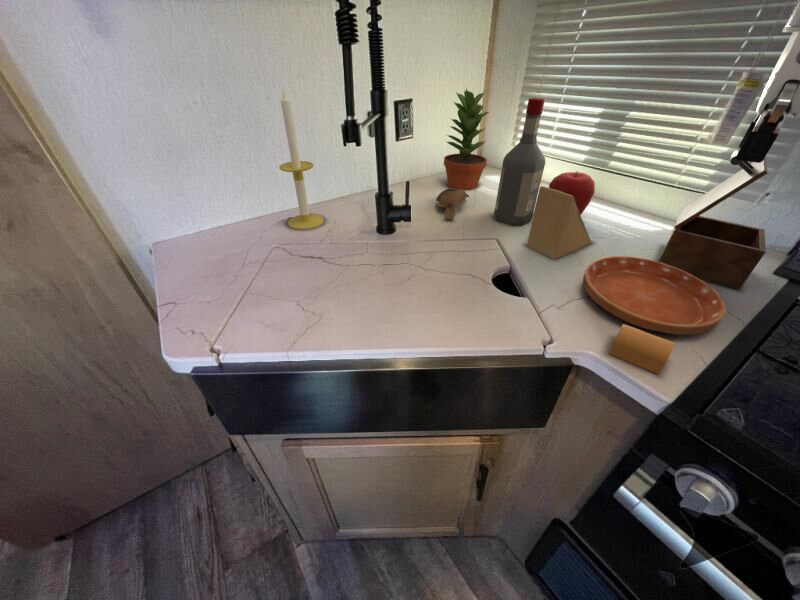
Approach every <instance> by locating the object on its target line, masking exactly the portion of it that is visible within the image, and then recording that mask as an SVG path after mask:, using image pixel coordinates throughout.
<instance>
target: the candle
mask: <svg viewBox="0 0 800 600" xmlns="http://www.w3.org/2000/svg"><path fill="white" fill-rule="evenodd" d="M280 103H281V104H280V105H281V111H282V116H283V117H282V118H283V121H284V122H283V123H284V129H285V134H286V138H287V139H286V140H287V144H288V150H289V155H290V161H288V162H285V163H282V164H280V165H279V166H278V167H279V170H281V171H282V172H285V173H292V177H293V182H294V188H295V193H296V198H297V204H298V210H299V215H295V216H293V217H291V218H290V219H289V220H288V221H287V226H288V227H289V228H292V229H295V230H311V229H315V228H318V227H320V226H322V225H323V224H324V223H325V219H324V217H322V215H319V214H314V213H310V209H309V203H308V196H307V190H306V185H305V179H304V178H305V177H304V172H306V171H309V170H311V169H313V168H314V163H313V162H311V161H306V160H301V158H300V152H299V147H298V146H299V145H298V141H297V134H296V128H295V122H294V117H293V112H292V111H293V110H292V103H291V100H290V98H289V97H288V96H287V93H286V90H285V88H284V87H282V96H281V99H280Z"/></svg>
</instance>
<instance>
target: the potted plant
mask: <svg viewBox="0 0 800 600" xmlns="http://www.w3.org/2000/svg"><path fill="white" fill-rule="evenodd" d="M467 88H468V87H466V88H465V90H464V91H463V94H462V93H458V92H457V91H455V93H456V95H457V98H458V99H459V101H460V103H459V102H455V101H453V100H452V102H453V104H454V105H455V106H456V108H457V109H458V110H457V116H458V119H459V120H458V119H454V118H451V117H449V119H450V120H451V121H452V122H453V123H454V124H455V125H456V126H457V127H456V126H452V125H451V126H450V128H451V129H452V130H454V131H455V132H457V133H458V134H460V135H461V136H462V140H461V138H458V137H456V136H454V135H450V134H449V135H448V134H444V135H445V136H447V137H449V138H450V139H451V140H453V141H447V140H445V142H446V143H447V144H448V145H450V146H452V147H454V148H455V149H457V150H459V151H458V152H459V153H452V154H447V155H445V156H444V158H443V166H444V168H445V173H446V174H445V175H446V180H447V184H448V187H449V188H455V189H463V190H464V191H466V190H472V189H473V190H474V189H475V188H477V187H478V184H479V183H480V182H479V181H480V179H481V177H482V174H483V172H484V169H485V168H486V167H487V161H488V160H487V158H486V157H485V156H482V155H479V154H474V153H473V152H474V151H476V150H477V149H479V148H480V147H481V146H483V145H484V144H485V142H486V140H484V141H477V142H476V143H473V139H475V138H476V136H478V135H479V134H481V133H482V132H483V131H485V130H486V129H487V127H485V128H482V129H477V128H478V127H479V125H480V123H481V121H482V119H483V118H484V117H485V116H487V115H488V114H489V113H490V111H485V112H483V111H482V110H483V109H484V103H483V104H480V103H479V102H480V101H481V99H482V98H483V96H484V95H485V94H486V91H487V90H485V91H484V92H481V93H478V94H477V95H476V96H475V94H474V93H473V92H472V91H470V90H468V89H467ZM482 112H483V113H482Z"/></svg>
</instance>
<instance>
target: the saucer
mask: <svg viewBox="0 0 800 600" xmlns="http://www.w3.org/2000/svg"><path fill="white" fill-rule="evenodd" d="M582 283H583V287H584V289H585V291H586V293H587V294H588V295H589V297H590V298H591V299H592V300H593V301H594V302H595V303H596V304H597V305H599V306H600V307H602V309H604V310H605V311H607V312H608V313H610V314H611V315H613V316H615V317H616V318H619V319H620V320H623V321H625V322H627V323H628V324H631V325H635V326H636V327H639V328H643V329H647V330H649V331H650V330H651V331H654V332H661V333H665V334H673V335H695V334H702V333H706V332H708V331H710V330H712V329H714V328H715V327H716V326H717V325H718V324H719V323H720V321H721V320H722V319H723V318H724V316H725V314H726V309H727V308H726V304H725V301H724V299H723V298H722V296H721V295H720V294H719V293H718V292H717V291H716V290H715V288H713V287H712V286H711V285H710V284H708V283H707V282H706V281H704V280H701V279H699V278H697V277H695V276H693V275H692V274H690V273H687V272H685V271H683V270H681V269H678V268H676V267H673V266H670V265H667V264H664V263H661V262H658V261H656V260H653V259H648V258H642V257H637V256H626V255H625V256H623V255H622V256H621V255H618V256H608V257H602V258H599V259H596V260H595V261H592V262H591V263H589V264H588V266H587V267H586V269H585V271H584V274H583V278H582Z"/></svg>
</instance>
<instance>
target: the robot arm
mask: <svg viewBox="0 0 800 600" xmlns="http://www.w3.org/2000/svg"><path fill="white" fill-rule="evenodd" d="M781 33H791V35H790V37H789V39H788V41H787V43H786V45H785V47H784V49H783V50H782V53H781V54H780V56H779V57H778V60H777V62H776V64H775V66H774V68H773V70H772V72H771V74H770V76H769V78H768V80H767V82H766V84H765V86H764V88H763V91H762V93H761V96H760V98H759V101H758V103H757V106H756V108H755V109H756V110H755V113H757V115H756V117H755V119H754V120H753V121H751V122H750V125H749V126H748V128H747V130H746V132H745V133H744V135H743V137H742V139H741V141H740V143H739V144H738V148H739V149H738V150H739V152H738V154H737V156H736V159H737V160H742V161H748V162H749V163H753V162H756V163H760V162H762V161H763V160H764V158H765V157H767V155H768V153H769V152H770V150H771V148H772V146H773V145H774V143H775V141H776V140H777V138H778V136H779V135H780V134H779V132H780V130H781V128H782V126H783V125H784V122H785V121H786V118H787V117H788V115H789V114H790V115H791V118H792V119H796V118H799V117H800V0H797V1H796V3H795V5H794V7H793V9H792V11H791V13H790V15H789V17H788V19H787V21H786V23H785V25H784V27H783V28H782V30H781Z"/></svg>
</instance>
